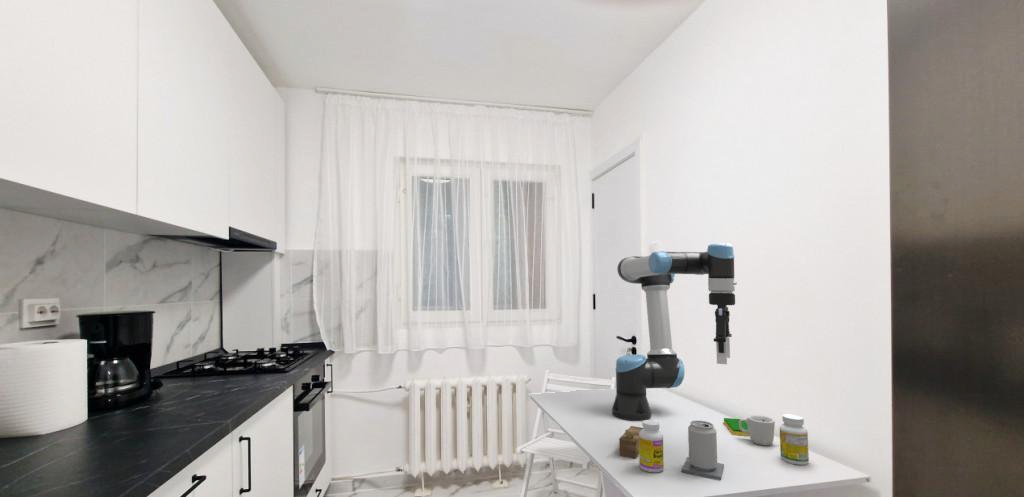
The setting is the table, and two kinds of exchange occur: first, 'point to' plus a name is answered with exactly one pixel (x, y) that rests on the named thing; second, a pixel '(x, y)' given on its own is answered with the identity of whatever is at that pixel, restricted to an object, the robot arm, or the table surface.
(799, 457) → the supplement bottle
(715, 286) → the robot arm
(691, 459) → the can
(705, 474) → the trivet
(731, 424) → the dish sponge
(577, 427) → the table surface
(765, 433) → the cup
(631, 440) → the walnut block
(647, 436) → the supplement bottle
